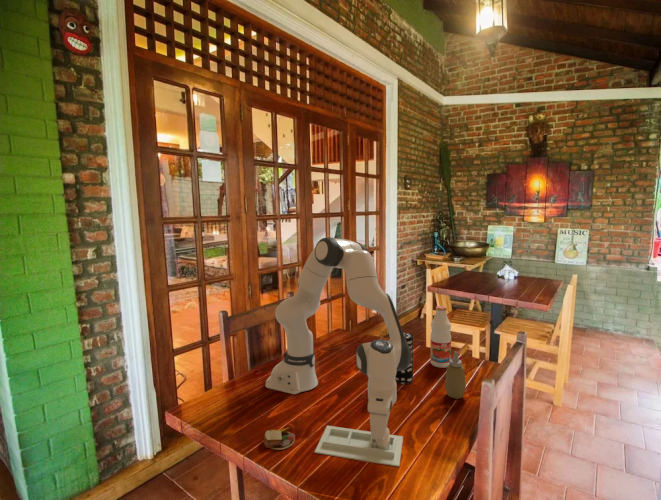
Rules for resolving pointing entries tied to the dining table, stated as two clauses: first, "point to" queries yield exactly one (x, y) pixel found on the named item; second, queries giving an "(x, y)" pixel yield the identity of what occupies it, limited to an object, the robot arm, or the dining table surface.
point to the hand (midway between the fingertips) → (382, 435)
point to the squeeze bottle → (455, 378)
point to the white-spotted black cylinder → (407, 374)
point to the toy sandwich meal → (278, 439)
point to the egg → (385, 441)
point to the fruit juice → (440, 339)
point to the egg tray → (358, 446)
